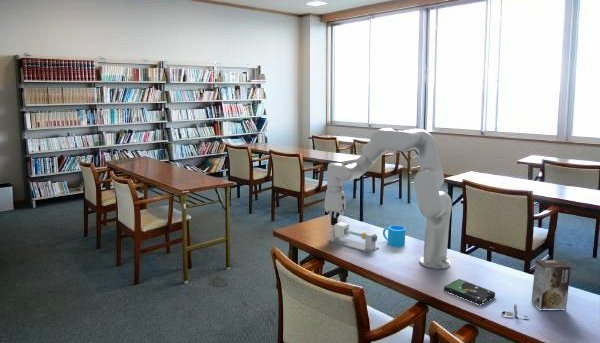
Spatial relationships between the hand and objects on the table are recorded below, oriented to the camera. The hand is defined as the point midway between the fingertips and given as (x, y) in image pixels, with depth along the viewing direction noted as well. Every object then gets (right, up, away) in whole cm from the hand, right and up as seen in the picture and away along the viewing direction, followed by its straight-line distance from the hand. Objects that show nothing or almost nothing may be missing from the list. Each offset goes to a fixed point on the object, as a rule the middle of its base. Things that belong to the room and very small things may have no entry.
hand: (334, 224), depth 223 cm
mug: (+28, -9, -3) cm, 30 cm away
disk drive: (+45, -20, -56) cm, 75 cm away
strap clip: (+55, -23, -72) cm, 93 cm away
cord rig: (+8, -9, -6) cm, 14 cm away
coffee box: (+70, -21, -65) cm, 98 cm away
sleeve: (+3, -5, -2) cm, 7 cm away
